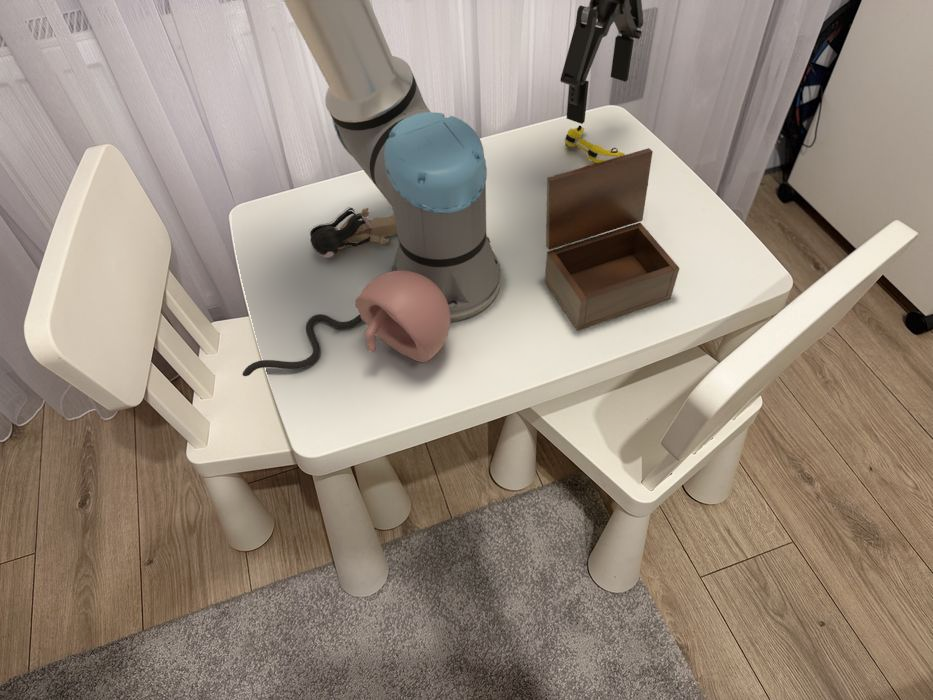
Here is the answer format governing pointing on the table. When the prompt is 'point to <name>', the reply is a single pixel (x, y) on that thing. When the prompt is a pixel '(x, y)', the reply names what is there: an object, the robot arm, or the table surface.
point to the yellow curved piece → (589, 146)
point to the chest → (610, 275)
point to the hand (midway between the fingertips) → (597, 98)
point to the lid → (596, 198)
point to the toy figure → (351, 232)
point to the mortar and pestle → (405, 314)
